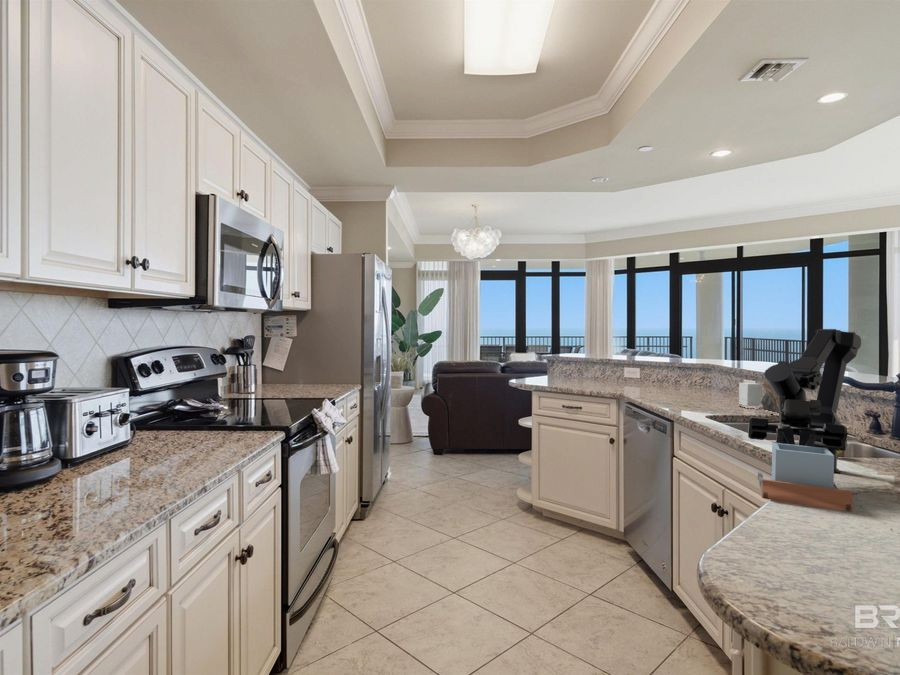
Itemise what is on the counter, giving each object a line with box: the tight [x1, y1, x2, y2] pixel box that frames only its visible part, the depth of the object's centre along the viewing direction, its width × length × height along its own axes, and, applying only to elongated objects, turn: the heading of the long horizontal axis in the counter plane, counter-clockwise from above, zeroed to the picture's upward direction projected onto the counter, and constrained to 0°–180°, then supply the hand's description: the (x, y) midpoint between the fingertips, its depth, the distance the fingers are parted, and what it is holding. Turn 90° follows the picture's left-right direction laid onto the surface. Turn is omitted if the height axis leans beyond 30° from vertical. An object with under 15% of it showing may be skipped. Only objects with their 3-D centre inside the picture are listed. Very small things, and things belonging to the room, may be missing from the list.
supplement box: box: [738, 382, 763, 406], centre depth 248 cm, size 7×7×13 cm
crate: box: [771, 442, 835, 489], centre depth 106 cm, size 8×10×10 cm
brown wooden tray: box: [757, 471, 854, 512], centre depth 108 cm, size 18×15×5 cm
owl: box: [761, 378, 779, 413], centre depth 227 cm, size 13×13×20 cm
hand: (797, 462), depth 110 cm, fingers closed
